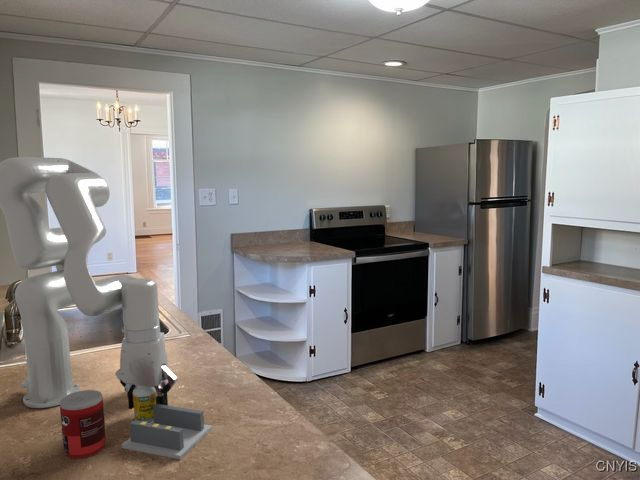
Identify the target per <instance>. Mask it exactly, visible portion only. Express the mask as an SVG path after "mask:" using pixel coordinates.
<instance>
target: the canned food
mask: <svg viewBox="0 0 640 480" xmlns="http://www.w3.org/2000/svg"><path fill="white" fill-rule="evenodd" d="M104 410H105V408H104V397H103V394H102V392H100V391H98V390H94V389H91V390H90V389H88V390H87V389H85V390H80V391H78V392H74V393H71V394H69V395H67V396H65V397H64V398H62V399H61V400H60V405H59V411H60V412H59V413H60V422H61V433H62V443H63V451H64V453H65V455H66V456H67V457H69V458H72V459H82V458H87V457H88V458H89V457H91V456H94V455H96V454H98V453H100V452H101V451H102V450H103V449H104V448H105V445H106V443H107V442H106V441H107V436H106V422H105V411H104Z"/></svg>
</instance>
